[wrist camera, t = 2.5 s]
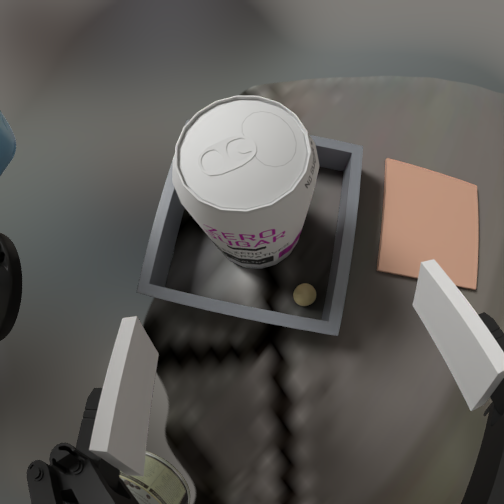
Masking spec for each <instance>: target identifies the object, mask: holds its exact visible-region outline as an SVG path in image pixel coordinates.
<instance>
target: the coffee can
mask: <svg viewBox="0 0 504 504" xmlns="http://www.w3.org/2000/svg"><path fill="white" fill-rule="evenodd" d="M119 477H120V478H121V479H122V480H123V482H124V483H125V484H126V486H127V487H128V489H129V490H130V492H131V493H132V494H133V496H134V497H135V498H136V500H137V501H138V502H139V504H189V503H190V491H189V487H188V485H187V483H186V481H185V479H184V478H183V476H182V475H181V474H180V473H179V471H178V470H177V469H176V468H175V467H174V466H172V465H171V464H170V463H169V462H168V461H166V460H165V459H163V458H161V457H159V456H158V455H156V454H153V453H151V452H148V451H146V455H145V466H144V476H131V475H126V474H124V473H123V472H121V471H120V475H119Z"/></svg>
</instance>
